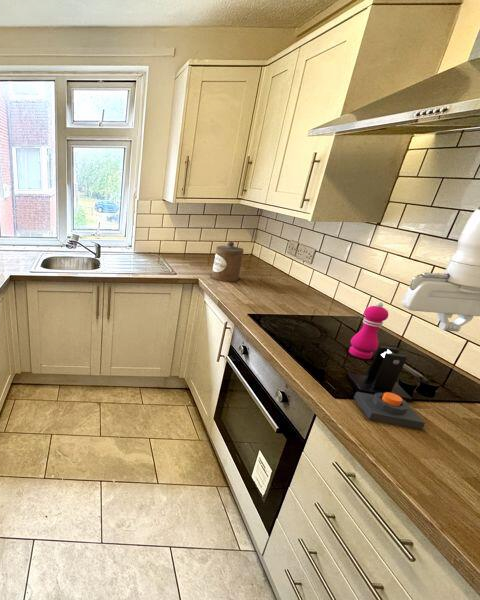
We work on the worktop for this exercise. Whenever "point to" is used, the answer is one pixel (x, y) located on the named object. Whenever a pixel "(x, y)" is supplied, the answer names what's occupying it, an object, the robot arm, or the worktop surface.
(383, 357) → the lever
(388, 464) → the worktop surface
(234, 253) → the wooden container
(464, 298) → the robot arm
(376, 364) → the bracket
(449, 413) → the worktop surface
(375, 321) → the pepper mill
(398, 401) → the button
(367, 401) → the button block
